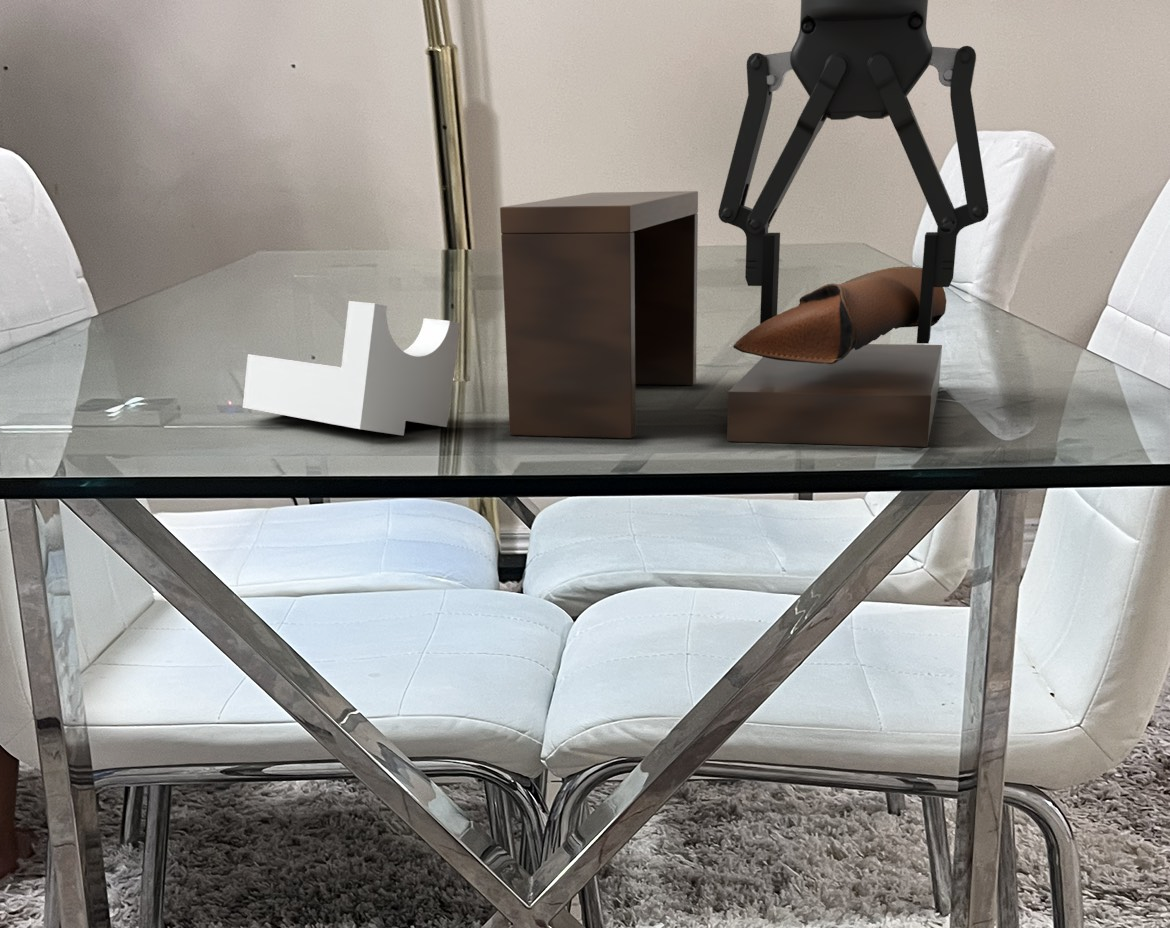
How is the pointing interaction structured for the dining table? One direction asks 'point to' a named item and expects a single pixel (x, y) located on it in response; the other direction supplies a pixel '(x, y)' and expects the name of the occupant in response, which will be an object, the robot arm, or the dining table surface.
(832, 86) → the robot arm
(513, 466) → the dining table surface
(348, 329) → the bracket
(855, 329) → the sunglasses case
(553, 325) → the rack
